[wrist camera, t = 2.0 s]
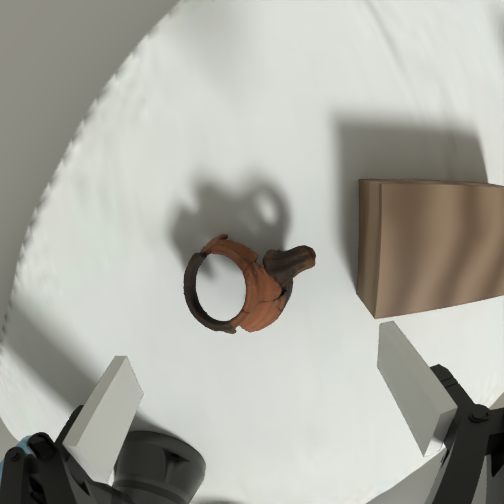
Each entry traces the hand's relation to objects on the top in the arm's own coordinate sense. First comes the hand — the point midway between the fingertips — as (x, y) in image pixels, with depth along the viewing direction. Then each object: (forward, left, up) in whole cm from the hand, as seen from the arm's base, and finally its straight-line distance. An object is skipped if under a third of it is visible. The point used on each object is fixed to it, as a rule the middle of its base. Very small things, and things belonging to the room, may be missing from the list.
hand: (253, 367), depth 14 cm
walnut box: (+20, 0, -17) cm, 26 cm away
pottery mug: (0, -1, -17) cm, 17 cm away
